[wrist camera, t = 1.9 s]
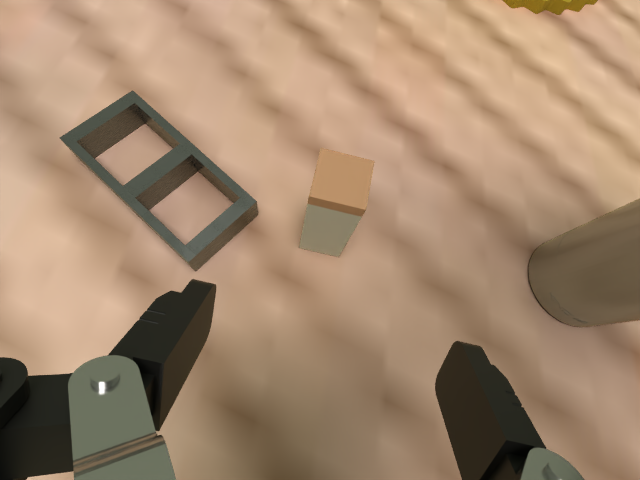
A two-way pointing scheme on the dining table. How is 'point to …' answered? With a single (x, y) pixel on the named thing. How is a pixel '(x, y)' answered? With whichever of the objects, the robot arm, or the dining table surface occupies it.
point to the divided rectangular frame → (161, 175)
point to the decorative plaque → (550, 5)
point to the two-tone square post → (335, 201)
